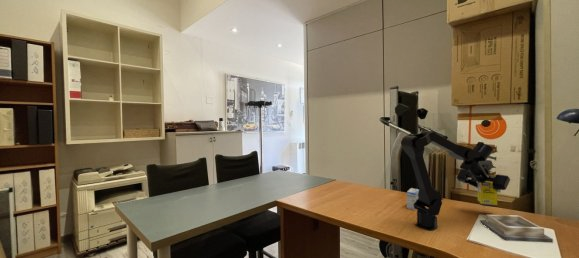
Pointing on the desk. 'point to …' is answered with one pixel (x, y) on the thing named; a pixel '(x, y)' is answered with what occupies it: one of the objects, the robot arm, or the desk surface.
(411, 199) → the medicine box
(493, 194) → the supplement box
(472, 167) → the robot arm
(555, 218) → the desk surface
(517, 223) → the board
